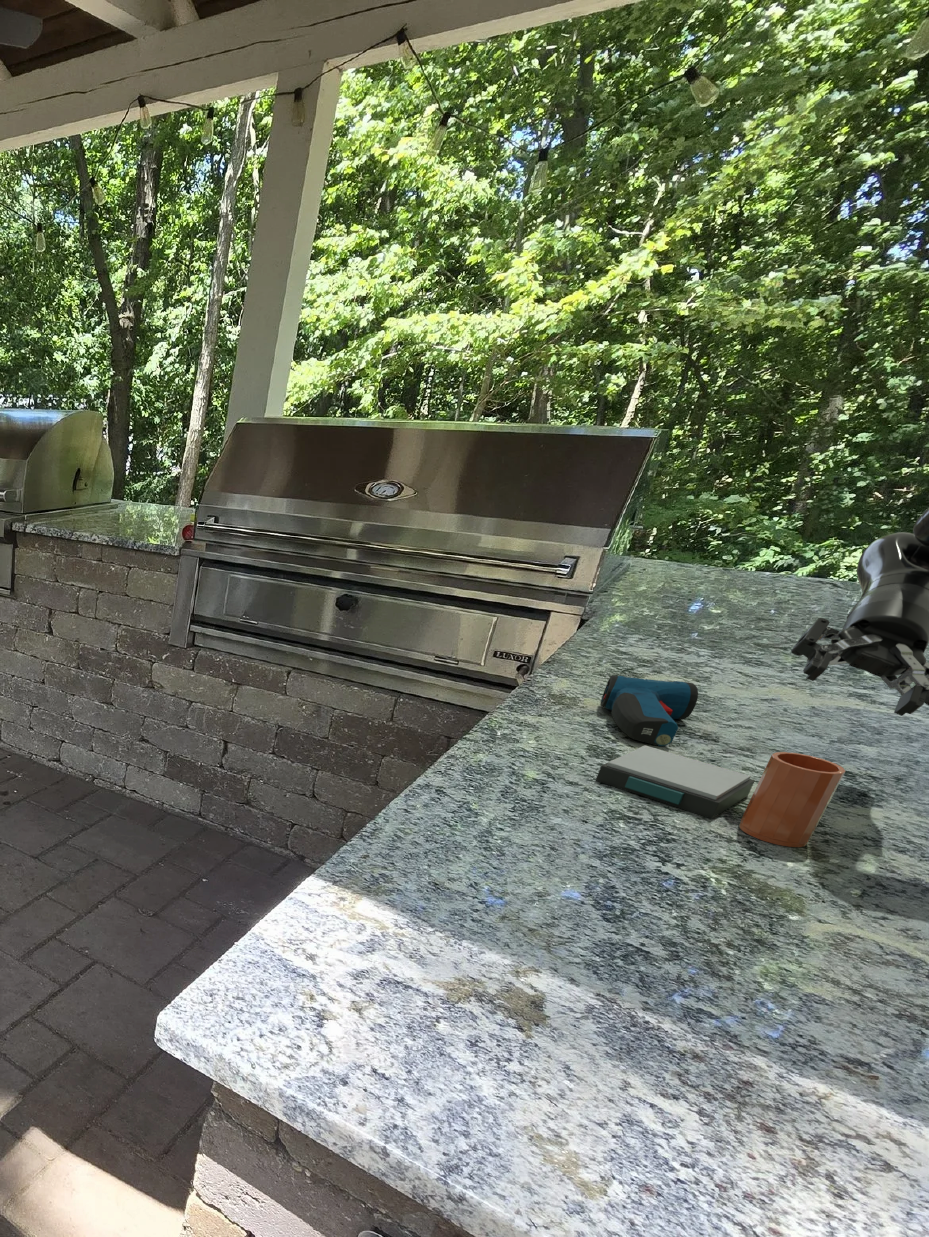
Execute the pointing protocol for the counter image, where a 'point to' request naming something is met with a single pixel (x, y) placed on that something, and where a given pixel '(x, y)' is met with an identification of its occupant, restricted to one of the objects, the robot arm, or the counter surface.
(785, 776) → the cup
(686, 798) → the scale
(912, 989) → the counter surface
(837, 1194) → the counter surface
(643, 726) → the infrared thermometer
